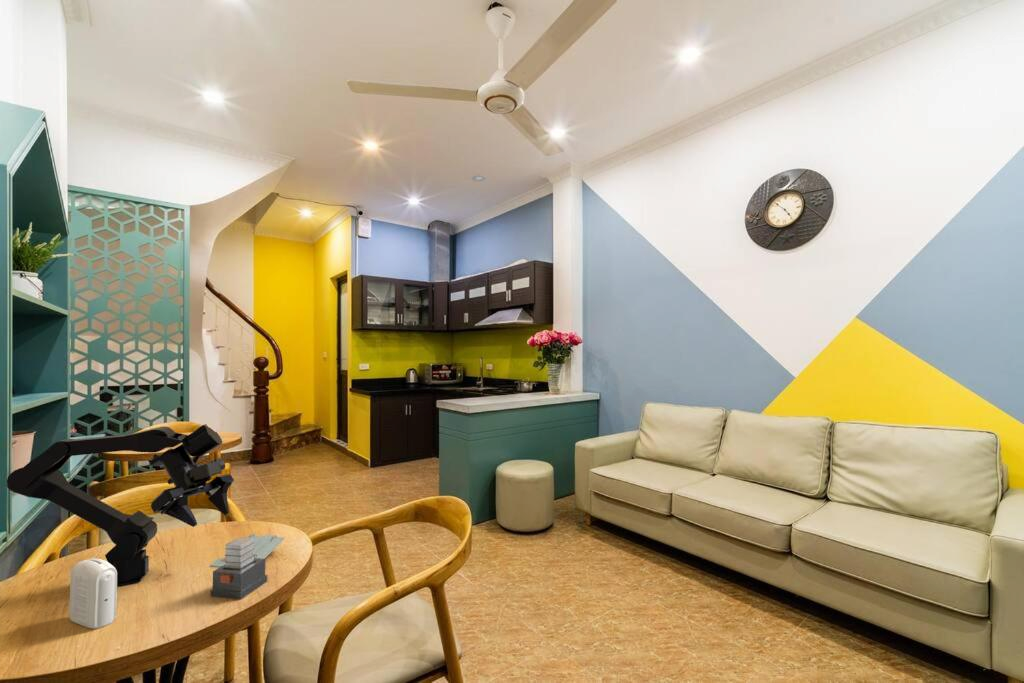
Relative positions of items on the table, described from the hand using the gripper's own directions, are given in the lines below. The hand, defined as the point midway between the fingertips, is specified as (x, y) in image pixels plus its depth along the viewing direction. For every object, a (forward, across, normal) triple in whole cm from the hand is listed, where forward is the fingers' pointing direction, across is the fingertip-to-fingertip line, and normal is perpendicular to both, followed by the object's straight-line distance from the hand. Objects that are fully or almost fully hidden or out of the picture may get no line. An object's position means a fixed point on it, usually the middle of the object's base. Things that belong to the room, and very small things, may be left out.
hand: (211, 519), depth 109 cm
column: (+17, -3, -2) cm, 17 cm away
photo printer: (+6, -19, +16) cm, 26 cm away
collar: (+18, -3, 0) cm, 19 cm away
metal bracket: (+12, +12, +7) cm, 18 cm away
